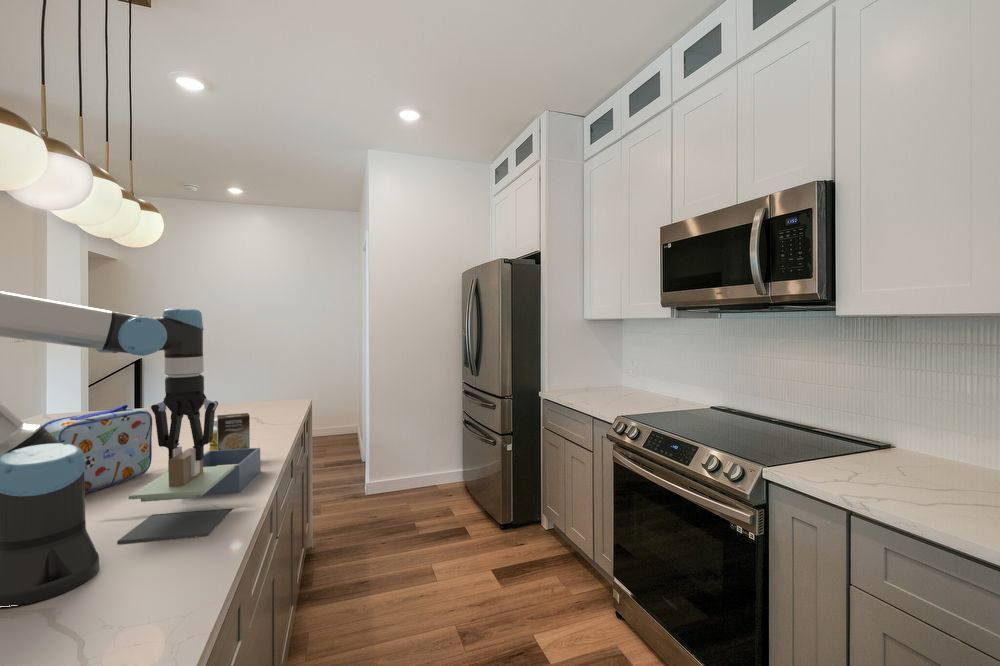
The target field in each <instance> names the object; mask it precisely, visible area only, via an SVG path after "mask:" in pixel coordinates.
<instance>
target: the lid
mask: <svg viewBox="0 0 1000 666" xmlns="http://www.w3.org/2000/svg"><path fill="white" fill-rule="evenodd" d="M191 448H192V447H188V448H187V449H185V450H184V451H182V453H180V454H178V455H177V456H175V457H173V458H171V459H170V460H169V459H168V460H167V461H168V463H167V464H168V471H167V472H165V473H163V474H161V475H160V476H158V477H157V478H155V479H153V480H152V481H150V482H149V483H147V484H145V485H144V486H142V487H141V488H139V489H137V490H136V491H133V493H131V494H130V495H128V500H140V502H141V503H143V502H144V503H146V502H158V501H171V500H172V501H173V500H186V499H199V498H201V497H202V496H204V495H203V494H205V493H206V492H207V491H208V490H210V489H211V488H212V487H213V486H214V485H215V484H217V483H218V482H219V481H220V480H221V479H223V478H224V477H225V476H226V475H227V474H229V473H230V472H231V471H232V470H233V469H235V465H228V466H212V467H203V459H202V460H200V473H198V474H197V475H196V476H191Z"/></svg>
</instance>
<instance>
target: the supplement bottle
mask: <svg viewBox="0 0 1000 666" xmlns="http://www.w3.org/2000/svg"><path fill="white" fill-rule="evenodd" d="M209 450H217V418H214V428H213V440H212V441H211V442H210V443H209Z"/></svg>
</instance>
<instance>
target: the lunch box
mask: <svg viewBox="0 0 1000 666" xmlns="http://www.w3.org/2000/svg"><path fill="white" fill-rule="evenodd" d="M128 407H129V406H128V404H125V405H120V406H117V407H116V408H112V409H107V410H103V411H98V412H93V413H86V414H80V415H73V416H67V417H62V418H57V419H53V420H50V421H48V422H46V423H44V424H43V425H42V426H43V427H44V428H45V429H46V430H47V431H48V432H49V433H50V434H52V435H53V436H54V437H55V438H56V439H57V440H58V441H61V442H62V443H64V444H66V445H68V444H71V445H74V446H77V447H79V448H80V449H81V450H82V451H83V455H84V459H85V462H86V467H85V469H84V479H85V494H88V493H90V492H94V491H98V490H101V489H104V488H108V487H110V486H111V487H112V486H114V485H115V484H119V483H122V482H125V481H127V480H130V479H132V478H136V477H138V476H141V475H144V474H146V472H148V470H149V468H150V467H151V464H152V458H153V456H152V455H153V449H152V448H153V447H152V446H153V445H152V444H153V443H152V436H153V434H152V433H153V416H152V414H151V413H150V412H149V411H147V410H143V409H133V408H128Z"/></svg>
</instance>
